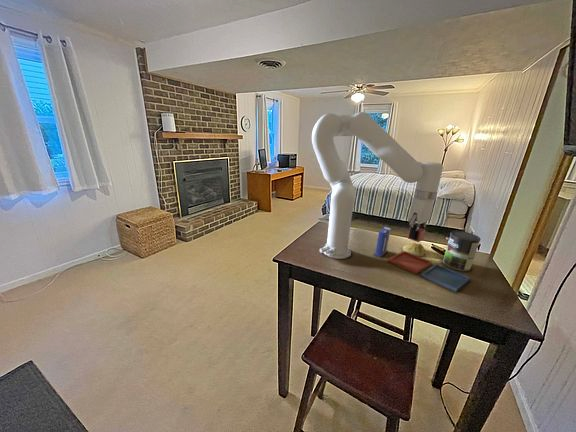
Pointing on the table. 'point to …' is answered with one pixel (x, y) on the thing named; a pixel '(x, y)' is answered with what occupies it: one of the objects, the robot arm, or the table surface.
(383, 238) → the walkman
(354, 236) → the table surface
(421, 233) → the block
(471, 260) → the coffee can
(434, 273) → the slate tray
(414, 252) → the fossil
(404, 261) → the terracotta tray
